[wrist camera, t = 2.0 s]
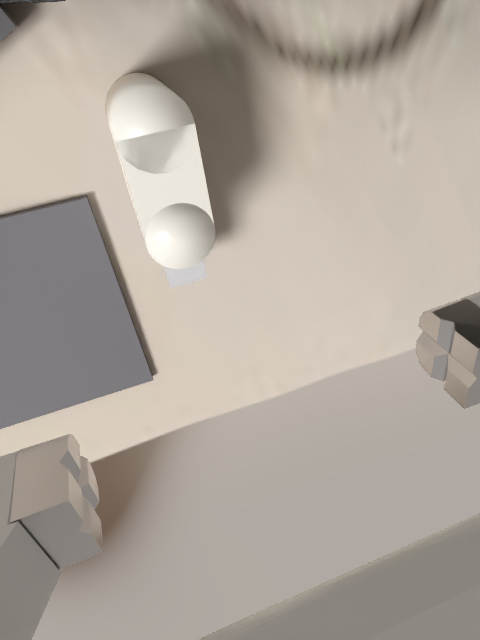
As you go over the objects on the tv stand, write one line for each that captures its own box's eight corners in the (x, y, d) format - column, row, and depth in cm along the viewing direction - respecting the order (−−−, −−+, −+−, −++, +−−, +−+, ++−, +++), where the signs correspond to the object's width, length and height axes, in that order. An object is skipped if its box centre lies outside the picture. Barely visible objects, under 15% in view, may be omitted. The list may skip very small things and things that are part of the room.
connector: (165, 66, 22) (186, 78, 18) (204, 252, 29) (226, 290, 25) (95, 80, 22) (101, 96, 18) (151, 266, 28) (165, 308, 24)
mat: (86, 195, 24) (86, 197, 24) (152, 376, 33) (153, 379, 33) (-151, 253, 22) (-154, 257, 22) (-17, 430, 31) (-17, 434, 31)
